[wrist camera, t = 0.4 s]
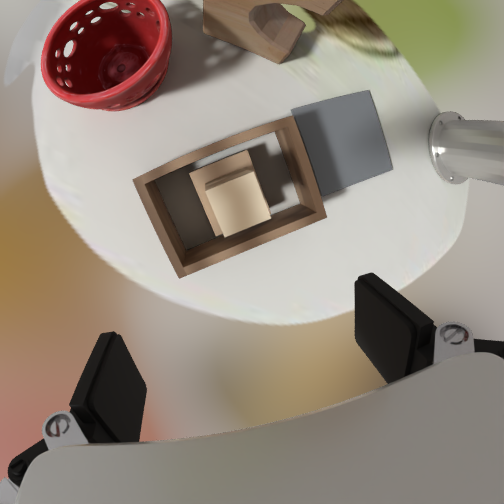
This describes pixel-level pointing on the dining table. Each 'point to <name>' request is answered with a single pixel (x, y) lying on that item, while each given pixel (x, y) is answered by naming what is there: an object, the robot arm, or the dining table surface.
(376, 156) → the mat
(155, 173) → the walnut box
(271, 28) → the decorative block
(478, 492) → the robot arm
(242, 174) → the maple block
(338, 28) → the dining table surface
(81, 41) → the plant pot
